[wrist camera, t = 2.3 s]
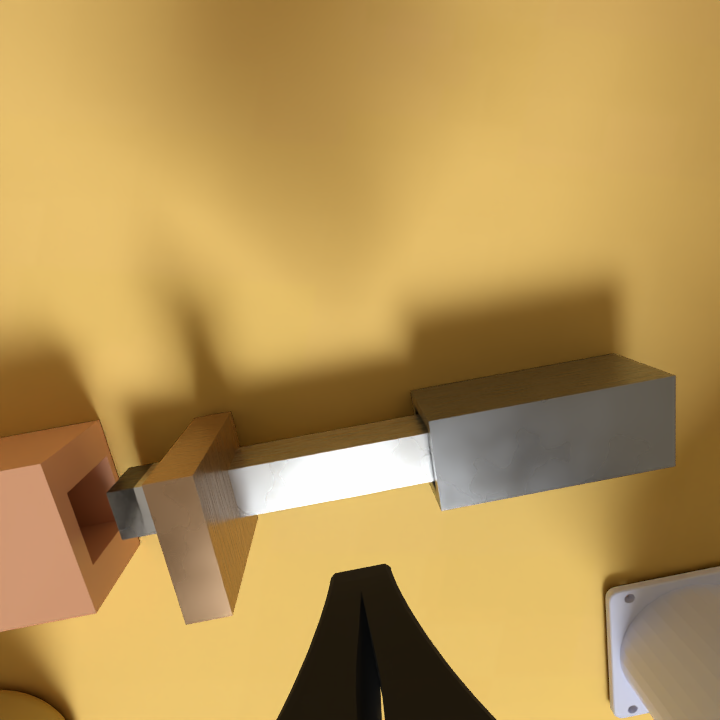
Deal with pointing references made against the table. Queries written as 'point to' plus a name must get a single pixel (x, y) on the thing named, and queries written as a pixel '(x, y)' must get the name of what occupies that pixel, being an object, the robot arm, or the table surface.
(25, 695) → the brown cylindrical piece
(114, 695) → the table surface
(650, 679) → the robot arm
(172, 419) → the table surface
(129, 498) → the tube
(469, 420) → the sleeve
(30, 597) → the socket block
